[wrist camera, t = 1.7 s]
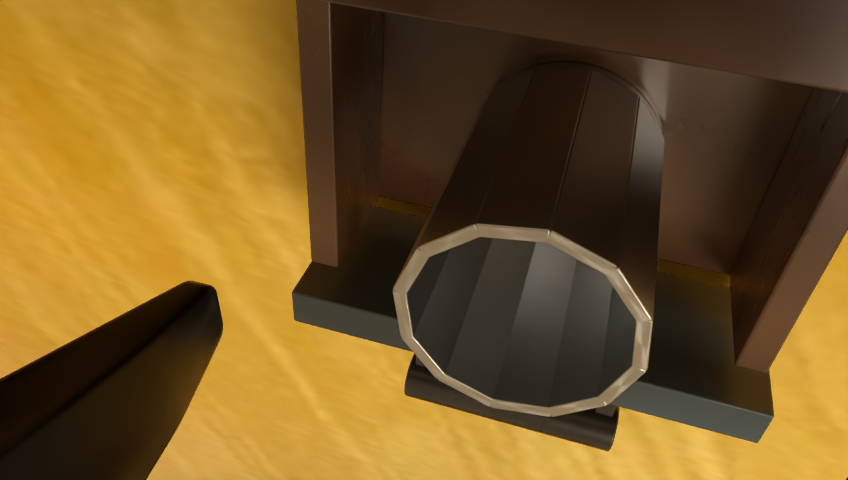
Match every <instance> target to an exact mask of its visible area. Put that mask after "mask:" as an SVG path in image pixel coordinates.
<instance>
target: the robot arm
mask: <svg viewBox="0 0 848 480" xmlns="http://www.w3.org/2000/svg"><path fill="white" fill-rule="evenodd" d="M222 331H223V321H222V316H221V311H220V306H219V301H218V296H217V292H216V290H215V289H214V287H213V286H211V285H207V284H203V283H199V282H195V281H186V282H183V283H181V284H179V285H177V286H175V287H173V288H172V289H170V290H168V291H166V292H164V293H162V294H160V295H158V296H156V297H155V298H153V299H151V300H149V301H147V302H145V303H143V304H141V305H139V306H137V307H136V308H134V309H132V310H130V311H128V312H126V313H124V314H122V315H120V316H119V317H117V318H115V319H113V320H111V321H109V322H107V323H105V324H103V325H101V326H100V327H98V328H96V329H94V330H92V331H90V332H88V333H86V334H84V335H83V336H81V337H79V338H77V339H75V340H73V341H71V342H69V343H67V344H65V345H64V346H62V347H60V348H58V349H56V350H54V351H52V352H50V353H48V354H47V355H45V356H43V357H41V358H39V359H37V360H35V361H33V362H31V363H29V364H28V365H26V366H24V367H22V368H20V369H18V370H16V371H14V372H12V373H11V374H9V375H7V376H5V377H3V378H1V379H0V480H146V479H147V477H148V476H149V474H150V472H151V471H152V469H153V467H154V466H155V464H156V463H157V461H158V459H159V458H160V456H161V454H162V453H163V451H164V450H165V448H166V446H167V445H168V443H169V441H170V440H171V438H172V436H173V435H174V433H175V431H176V430H177V428H178V426H179V424H180V422H181V420H182V418H183V416H184V414H185V412H186V410H187V408H188V406H189V404H190V402H191V400H192V398H193V396H194V394H195V391H196V389H197V387H198V385H199V383H200V381H201V379H202V377H203V375H204V372H205V370H206V368H207V366H208V364H209V362H210V360H211V358H212V355H213V353H214V351H215V349H216V347H217V345H218V343H219V341H220V338H221V335H222ZM846 480H848V478H847V479H846Z"/></svg>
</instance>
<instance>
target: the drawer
mask: <svg viewBox="0 0 848 480" xmlns="http://www.w3.org/2000/svg"><path fill="white" fill-rule="evenodd" d="M296 4H297V21H298V38H299V55H300V71H301V88H302V105H303V122H304V139H305V156H306V173H307V190H308V207H309V224H310V241H311V258H312V262H311V263H310V265H309V267H308V268H307V270H306V271H305V273H304V274H303V276H302V277H301V279H300V281H299V282H298V284H297V285H296V287H295V288H294V290H293V292H292V298H293V310H294V320H296V321H299V322H302V323H306V324H310V325H314V326H317V327H321V328H325V329H329V330H333V331H336V332H340V333H344V334H348V335H351V336H355V337H359V338H363V339H367V340H370V341H374V342H378V343H382V344H385V345H389V346H393V347H397V348H400V349H404V350H408V351H412V350H411V349H410V348H409V346H408V345H407V344H406V343H405V342H404V341H403V339H402V337H401V335H400V329H399V324H398V318H397V313H396V307H395V302H394V296H393V287H394V285H395V283H396V281H397V279H398V277H399V275H400V273H401V271H402V269H403V266H404V264H405V262H406V260H407V258H408V256H409V254H410V252H411V250H412V248H413V246H414V244H415V242H416V240H417V238H418V236H419V233H420V231H421V229H422V227H423V225H424V223H425V221H426V219H427V218H424V217H419V216H415V215H410V214H406V213H402V212H397V211H393V210H388V209H384V208H380V207H375V206H374V205H375V204H376V202H377V200H378V199H379V196H381V197H385V198H390V199H394V200H399V201H403V202H408V203H412V204H416V205H421V206H425V207H430V208H432V207H433V205H434V203H435V201H436V198H437V196H438V194H439V192H440V190H441V188H442V186H443V184H444V182H445V180H446V178H447V176H448V174H449V172H450V170H451V168H452V165H453V163H454V161H455V159H456V157H457V155H458V153H459V151H460V149H461V147H462V145H463V143H464V141H465V139H466V137H467V135H468V132H469V130H470V129H471V127H472V125H473V123H474V121H475V120H476V118H477V116H478V114H479V113H480V111H481V109H482V107H483V105H484V103H485V102H486V100H487V99H488V97H489V95H490V93H492V91H494V90H495V89H496V88H497V87H498V86H499V85H500V84H502V83H503V82H504V81H505V80H507V79H508V78H510V77H511V76H513V75H515V74H516V73H519V72H521V71H523V70H525V69H527V68H531V67H534V66H537V65H541V64H547V63H553V62H574V63H582V64H587V65H592V66H595V67H598V68H601V69H604V70H607V71H609V72H611V73H613V74H615V75H617V76H619V77H620V78H622V79H623V80H625V81H626V82H628V83H629V84H630V85H631V86H633V87H634V88H635V89H636V90H637V91H638V92H639V93H640V94H641V95H642V96H643V97H644V98H645V99H646V101H647V102H648V104H649V105H650V107H651V108H652V110H653V111H654V114H655V116H656V118H657V120H658V123H659V126H660V129H661V133H662V136H663V137H664V155H663V171H662V187H661V203H660V219H659V235H658V251H657V259H661V260H665V261H670V262H674V263H679V264H683V265H687V266H692V267H696V268H701V269H705V270H710V271H714V272H719V273H723V274H727V275H730V287H726V286H722V285H717V284H713V283H708V282H704V281H700V280H695V279H691V278H687V277H682V276H678V275H673V274H669V273H665V272H660V271H656V283H655V299H654V315H653V327H652V335H651V344H650V353H649V362H648V369H647V370H646V372H645V373H644V374H643V375H642V376H641V377H640V378H638V379H637V380H636V381H635V382H634V383H633V384H632V385H630V386H629V387H628V388H627V389H626V390H625V391H624V392H623V393H621V394H620V395H619V396H618V397H617V398H616V399H615V400H614V401H612V402H611V403H610V404H607V405H606V406H602V407H597V408H593V409H588V410H583V411H578V412H574V413H569V414H564V415H559V416H555V417H552V416H550V417H547V416H541V415H534V414H528V413H522V412H516V411H509V410H503V409H497V408H492V407H491V406H490V407H488V406H486V405H485V404H483V403H481V402H479V401H477V400H475V399H473V398H471V397H469V396H468V395H466V394H464V393H462V392H460V391H458V390H456V389H454V388H452V387H450V386H449V385H447V384H445V383H443V382H441V381H439V380H438V378H435V377H434V376H433V374H432V373H431V372H430V371H429V370H428V369H427V367H426V366H425V365H424V364H423V363H422V362H421V360H420V359H419V358H418V357H417V356H416V355H415V353H414V355H413V357H412V360H411V362H410V365H409V369H408V372H407V377H406V381H405V390H404V391H405V395H406V396H410V397H413V398H417V399H420V400H424V401H428V402H431V403H435V404H438V405H442V406H446V407H449V408H453V409H456V410H460V411H464V412H467V413H471V414H474V415H478V416H482V417H485V418H489V419H492V420H496V421H500V422H503V423H507V424H510V425H514V426H518V427H521V428H525V429H528V430H532V431H536V432H539V433H543V434H546V435H550V436H554V437H557V438H561V439H565V440H568V441H572V442H575V443H579V444H583V445H586V446H590V447H593V448H597V449H601V450H604V451H609V450H610V449H611V447H612V444H613V441H614V438H615V434H616V429H617V424H618V418H619V407H623V408H627V409H631V410H634V411H638V412H642V413H646V414H649V415H653V416H657V417H661V418H664V419H668V420H672V421H676V422H680V423H683V424H687V425H691V426H695V427H698V428H702V429H706V430H710V431H714V432H717V433H721V434H725V435H729V436H732V437H736V438H740V439H744V440H747V441H751V442H755V443H758V442H759V440H760V439H761V437H762V435H763V434H764V432H765V430H766V429H767V427H768V426H769V424H770V422H771V421H772V419H773V417H774V411H773V401H772V392H771V383H770V373H769V368H770V366H771V365H772V363H773V361H774V359H775V358H776V356H777V354H778V352H779V351H780V349H781V347H782V345H783V343H784V342H785V340H786V338H787V336H788V335H789V333H790V331H791V329H792V328H793V326H794V324H795V322H796V320H797V319H798V317H799V315H800V313H801V312H802V310H803V308H804V306H805V305H806V303H807V301H808V299H809V297H810V296H811V294H812V292H813V290H814V289H815V287H816V285H817V283H818V282H819V280H820V278H821V276H822V274H823V273H824V271H825V269H826V267H827V266H828V264H829V262H830V260H831V259H832V257H833V255H834V253H835V251H836V250H837V248H838V246H839V244H840V243H841V241H842V239H843V237H844V236H845V234H846V232H847V230H848V93H845V92H839V91H834V90H828V89H822V88H816V87H811V86H805V85H799V84H794V83H788V82H782V81H776V80H771V79H765V78H759V77H753V76H748V75H742V74H736V73H731V72H725V71H719V70H713V69H708V68H702V67H696V66H690V65H685V64H679V63H673V62H668V61H662V60H656V59H650V58H645V57H639V56H633V55H627V54H622V53H616V52H610V51H605V50H599V49H593V48H587V47H582V46H576V45H570V44H564V43H559V42H553V41H547V40H542V39H536V38H530V37H524V36H519V35H513V34H507V33H501V32H496V31H490V30H484V29H479V28H473V27H467V26H461V25H456V24H450V23H444V22H438V21H433V20H427V19H421V18H416V17H410V16H404V15H398V14H393V13H387V12H381V11H375V10H370V9H364V8H358V7H353V6H347V5H341V4H335V3H330V2H324V1H318V0H296ZM412 352H413V351H412Z"/></svg>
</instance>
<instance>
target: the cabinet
mask: <svg viewBox="0 0 848 480" xmlns="http://www.w3.org/2000/svg"><path fill="white" fill-rule="evenodd" d="M318 1H324V2H330V3H335V4H341V5H347V6H353V7H358V8H364V9H370V10H375V11H381V12H387V13H393V14H398V15H404V16H410V17H416V18H421V19H427V20H433V21H438V22H444V23H450V24H456V25H461V26H467V27H473V28H479V29H484V30H490V31H496V32H501V33H507V34H513V35H519V36H524V37H530V38H536V39H542V40H547V41H553V42H559V43H564V44H570V45H576V46H582V47H587V48H593V49H599V50H605V51H610V52H616V53H622V54H627V55H633V56H639V57H645V58H650V59H656V60H662V61H668V62H673V63H679V64H685V65H690V66H696V67H702V68H708V69H713V70H719V71H725V72H731V73H736V74H742V75H748V76H753V77H759V78H765V79H771V80H776V81H782V82H788V83H794V84H799V85H805V86H811V87H816V88H822V89H828V90H834V91H839V92H845V93H848V0H318Z"/></svg>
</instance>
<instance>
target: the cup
mask: <svg viewBox="0 0 848 480" xmlns="http://www.w3.org/2000/svg"><path fill="white" fill-rule="evenodd" d="M663 155H664V137H663V136H662V133H661V129H660V126H659V123H658V120H657V118H656V116H655V114H654V111H653V110H652V108H651V107H650V105H649V104H648V102H647V101H646V99H645V98H644V97H643V96H642V95H641V94H640V93H639V92H638V91H637V90H636V89H635V88H634V87H633V86H631V85H630V84H629V83H628V82H626V81H625V80H623V79H622V78H620V77H619V76H617V75H615V74H613V73H611V72H609V71H607V70H604V69H601V68H598V67H595V66H592V65H587V64H582V63H574V62H553V63H547V64H541V65H537V66H534V67H531V68H527V69H525V70H523V71H521V72H519V73H516V74H515V75H513V76H511V77H510V78H508V79H507V80H505V81H504V82H503V83H502V84H500V85H499V86H498V87H497V88H496V89H495V90H494V91H492V93H490V95H489V97H488V99H487V100H486V102H485V103H484V105H483V107H482V109H481V111H480V113H479V114H478V116H477V118H476V120H475V121H474V123H473V125H472V127H471V129H470V130H469V132H468V135H467V137H466V139H465V141H464V143H463V145H462V147H461V149H460V151H459V153H458V155H457V157H456V159H455V161H454V163H453V165H452V168H451V170H450V172H449V174H448V176H447V178H446V180H445V182H444V184H443V186H442V188H441V190H440V192H439V194H438V196H437V198H436V201H435V203H434V205H433V207H432V209H431V211H430V213H429V215H428V217H427V219H426V221H425V223H424V225H423V227H422V229H421V231H420V233H419V236H418V238H417V240H416V242H415V244H414V246H413V248H412V250H411V252H410V254H409V256H408V258H407V260H406V262H405V264H404V266H403V269H402V271H401V273H400V275H399V277H398V279H397V281H396V283H395V285H394V287H393V296H394V302H395V307H396V313H397V318H398V324H399V329H400V335H401V337H402V339H403V341H404V342H405V343H406V344H407V345H408V346H409V348H410V349H411V350H412V351H413V352H414V353H415V355H416V356H417V357H418V358H419V359H420V360H421V362H422V363H423V364H424V365H425V366H426V367H427V369H428V370H429V371H430V372H431V373H432V374H433V376H434V377H435V378H438V380H439V381H441V382H443V383H445V384H447V385H449V386H450V387H452V388H454V389H456V390H458V391H460V392H462V393H464V394H466V395H468V396H469V397H471V398H473V399H475V400H477V401H479V402H481V403H483V404H485V405H486V406H488V407H490V406H491V407H492V408H497V409H503V410H509V411H516V412H522V413H528V414H534V415H541V416H547V417H550V416H552V417H555V416H559V415H564V414H569V413H574V412H578V411H583V410H588V409H593V408H597V407H602V406H606V405H607V404H610V403H611V402H612V401H614V400H615V399H616V398H617V397H618V396H619V395H620V394H621V393H623V392H624V391H625V390H626V389H627V388H628V387H629V386H630V385H632V384H633V383H634V382H635V381H636V380H637V379H638V378H640V377H641V376H642V375H643V374H644V373H645V372H646V370H647V369H648V362H649V353H650V344H651V335H652V327H653V315H654V299H655V283H656V267H657V251H658V235H659V219H660V203H661V187H662V171H663Z"/></svg>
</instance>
